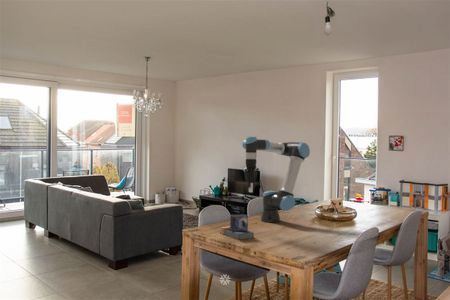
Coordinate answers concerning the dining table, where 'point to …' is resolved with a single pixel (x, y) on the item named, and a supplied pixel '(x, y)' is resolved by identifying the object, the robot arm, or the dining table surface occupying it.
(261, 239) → the dining table surface
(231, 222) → the small box
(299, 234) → the dining table surface
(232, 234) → the tray
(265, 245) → the dining table surface
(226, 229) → the bar
